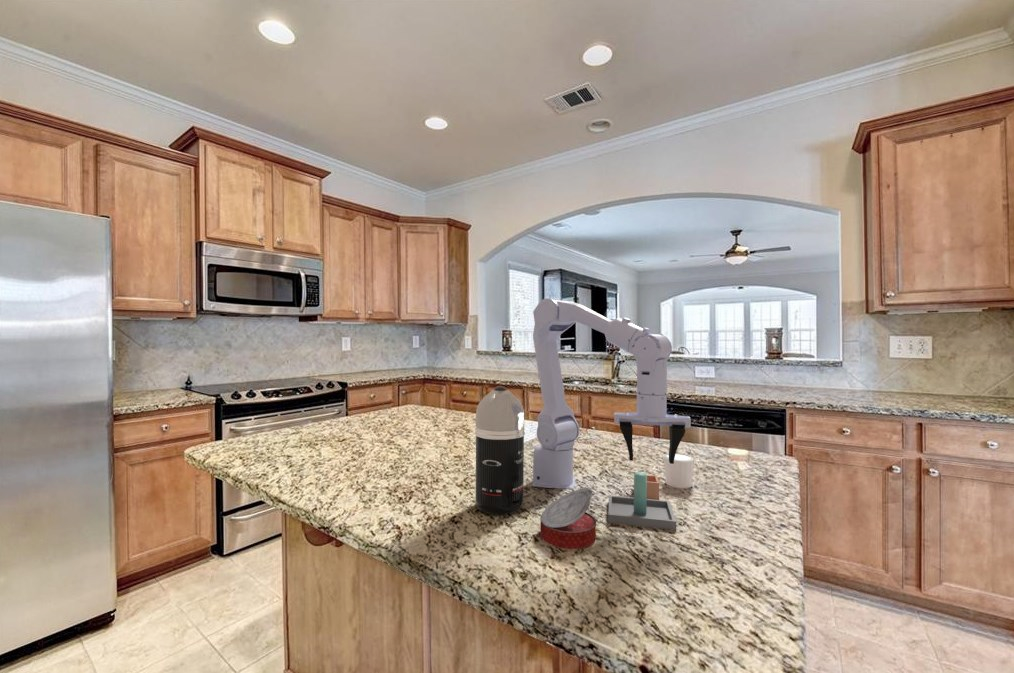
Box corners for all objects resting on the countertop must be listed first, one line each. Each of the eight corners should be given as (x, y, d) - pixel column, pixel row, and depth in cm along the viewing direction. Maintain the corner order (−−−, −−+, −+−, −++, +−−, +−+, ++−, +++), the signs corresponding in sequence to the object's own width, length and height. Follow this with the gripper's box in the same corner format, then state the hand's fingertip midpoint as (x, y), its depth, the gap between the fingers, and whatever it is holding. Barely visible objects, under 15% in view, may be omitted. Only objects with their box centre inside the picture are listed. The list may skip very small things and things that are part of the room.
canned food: (585, 576, 72) (580, 536, 68) (532, 553, 78) (524, 515, 73) (608, 523, 80) (605, 485, 76) (559, 506, 86) (554, 469, 81)
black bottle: (530, 501, 92) (531, 384, 92) (515, 520, 83) (516, 390, 83) (485, 494, 96) (486, 382, 96) (466, 513, 86) (467, 387, 86)
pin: (633, 514, 84) (634, 475, 84) (633, 509, 86) (633, 471, 86) (646, 515, 83) (647, 476, 83) (645, 510, 85) (646, 472, 85)
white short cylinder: (697, 492, 98) (697, 461, 98) (665, 489, 100) (665, 459, 100) (690, 482, 105) (691, 453, 105) (661, 480, 107) (661, 451, 107)
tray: (608, 525, 81) (608, 514, 81) (608, 504, 91) (608, 495, 91) (676, 532, 78) (676, 521, 78) (669, 510, 88) (669, 501, 88)
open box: (634, 499, 94) (635, 481, 94) (633, 491, 99) (634, 473, 99) (659, 501, 93) (659, 483, 93) (656, 493, 97) (657, 475, 97)
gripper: (614, 394, 85) (613, 463, 85) (693, 397, 81) (692, 469, 81) (614, 390, 92) (614, 453, 92) (687, 393, 88) (687, 459, 88)
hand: (650, 460), depth 87 cm, fingers open, 7 cm apart
